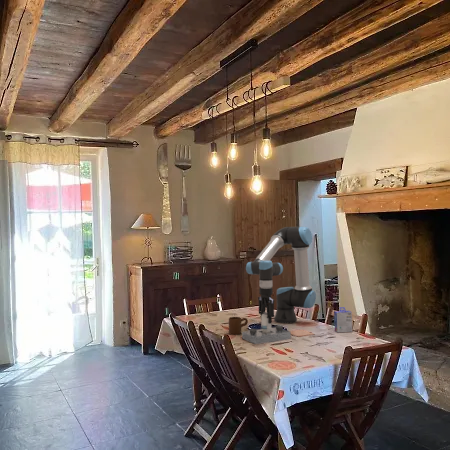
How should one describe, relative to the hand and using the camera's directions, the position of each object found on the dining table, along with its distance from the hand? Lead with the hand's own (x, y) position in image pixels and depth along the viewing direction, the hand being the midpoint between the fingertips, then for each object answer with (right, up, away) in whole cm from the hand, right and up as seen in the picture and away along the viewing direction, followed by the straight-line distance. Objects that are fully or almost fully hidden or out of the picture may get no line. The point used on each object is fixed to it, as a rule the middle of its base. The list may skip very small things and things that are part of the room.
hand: (266, 327), depth 258 cm
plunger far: (+8, -5, +4) cm, 10 cm away
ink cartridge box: (+49, -6, +17) cm, 52 cm away
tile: (+21, -6, +11) cm, 25 cm away
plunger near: (-8, -5, -4) cm, 10 cm away
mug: (-16, -7, +14) cm, 22 cm away
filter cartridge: (0, -6, 0) cm, 6 cm away
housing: (0, -6, 0) cm, 6 cm away
